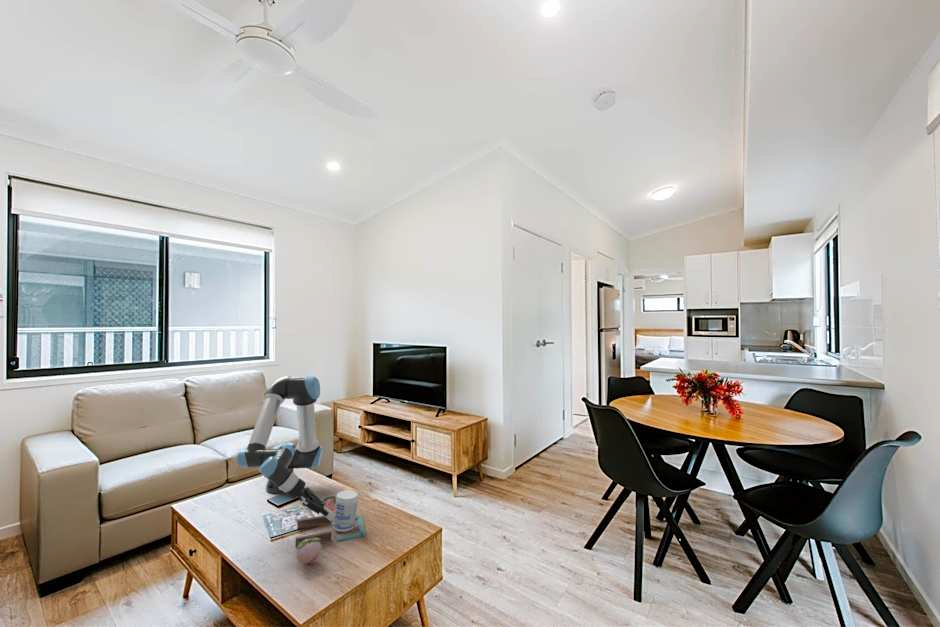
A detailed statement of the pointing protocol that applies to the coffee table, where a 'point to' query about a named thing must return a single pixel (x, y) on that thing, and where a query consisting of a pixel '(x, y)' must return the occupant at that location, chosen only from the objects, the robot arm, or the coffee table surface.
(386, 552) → the coffee table surface
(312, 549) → the decorative fruit
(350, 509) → the supplement tub
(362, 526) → the frame
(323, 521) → the channel walls
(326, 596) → the coffee table surface
